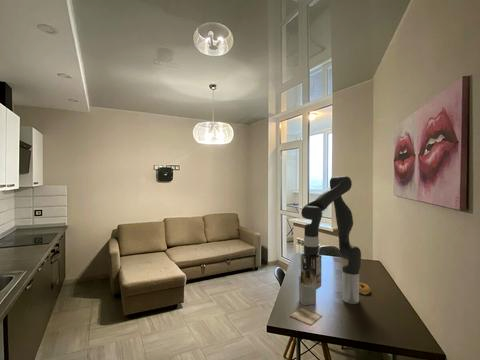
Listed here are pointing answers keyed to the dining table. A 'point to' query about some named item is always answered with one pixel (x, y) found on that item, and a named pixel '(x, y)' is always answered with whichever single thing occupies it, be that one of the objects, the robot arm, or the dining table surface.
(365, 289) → the bagel
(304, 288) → the skincare box
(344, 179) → the robot arm
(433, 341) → the dining table surface
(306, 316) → the cork rest mat
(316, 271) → the coffee box
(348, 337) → the dining table surface
